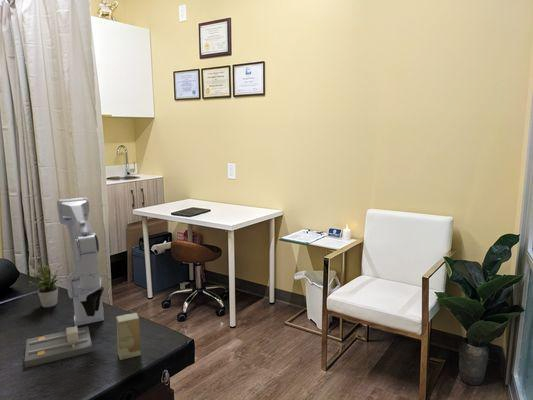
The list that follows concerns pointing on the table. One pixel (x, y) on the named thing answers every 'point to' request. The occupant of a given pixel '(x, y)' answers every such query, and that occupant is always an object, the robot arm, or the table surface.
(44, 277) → the house plant
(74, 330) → the block
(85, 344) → the panel
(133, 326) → the skincare box
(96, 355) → the table surface
